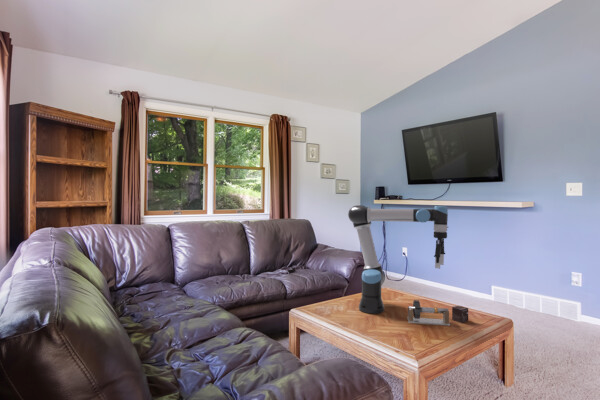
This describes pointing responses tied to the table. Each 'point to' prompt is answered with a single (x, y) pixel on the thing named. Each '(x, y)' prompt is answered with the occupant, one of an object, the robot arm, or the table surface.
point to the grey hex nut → (417, 309)
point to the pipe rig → (426, 320)
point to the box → (460, 314)
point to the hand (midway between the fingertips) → (439, 266)
